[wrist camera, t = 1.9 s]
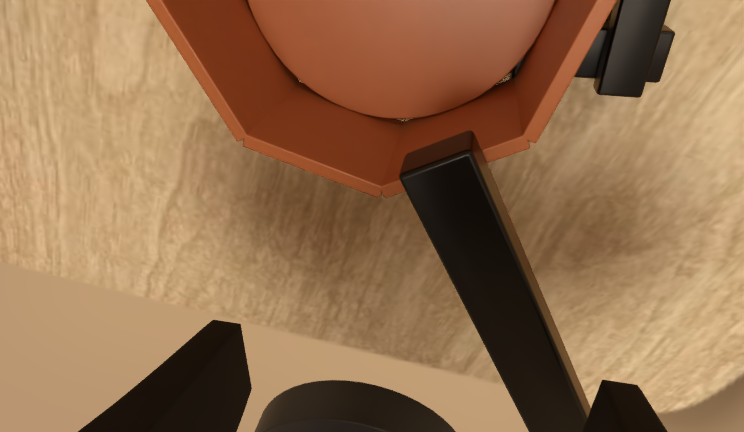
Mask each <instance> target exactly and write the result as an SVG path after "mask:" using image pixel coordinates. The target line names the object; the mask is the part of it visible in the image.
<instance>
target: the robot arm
mask: <svg viewBox="0 0 744 432" xmlns="http://www.w3.org/2000/svg"><path fill="white" fill-rule="evenodd" d="M251 389H252V388H251V382H250V376H249V370H248V365H247V359H246V353H245V347H244V342H243V336H242V330H241V325H240V324H237V323H231V322H224V321H218V320H213V321H211V322H210V323H209V324H207V325H206V326H205V327H204V328H203V329H202V330H200V331H199V332H198V333H197V334H196V335H195V336H194V337H192V338H191V339H190V340H189V341H188V342H187V343H186V344H184V345H183V346H182V347H181V348H180V349H179V350H177V351H176V352H175V353H174V354H173V355H172V356H171V357H169V358H168V359H167V360H166V361H165V362H164V363H163V364H161V365H160V366H159V367H158V368H157V369H156V370H154V371H153V372H152V373H151V374H150V375H148V376H147V377H146V378H145V379H144V380H142V381H141V382H140V383H139V384H138V385H137V386H135V387H134V388H133V389H132V390H130V391H129V392H128V393H127V394H126V395H124V396H123V397H122V398H121V399H119V400H118V401H117V402H116V403H114V404H113V405H112V406H111V407H109V408H108V409H107V410H105V411H104V412H103V413H102V414H100V415H99V416H98V417H97V418H95V419H94V420H92V421H91V422H90V423H89V424H87V425H86V426H85V427H83V428H82V429H81V430H80V431H78V432H236V431H237V429H238V426H239V423H240V421H241V418H242V415H243V412H244V410H245V407H246V404H247V401H248V398H249V395H250V392H251ZM582 432H667V430H666V429H665V427H664V426H663V424H662V422H661V421H660V419H659V418H658V416H657V415H656V413H655V411H654V410H653V408H652V407H651V405H650V403H649V402H648V400H647V399H646V397H645V396H644V394H643V392H642V391H641V390H640V388H639V387H638V386H637V385H633V384H627V383H620V382H614V381H607V380H602V382H601V385H600V387H599V390H598V392H597V395H596V397H595V400H594V403H593V405H592V408H591V410H590V413H589V416H588V418H587V421H586V423H585V426H584V429H583V431H582Z"/></svg>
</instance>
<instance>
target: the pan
mask: <svg viewBox="0 0 744 432" xmlns="http://www.w3.org/2000/svg"><path fill="white" fill-rule="evenodd" d="M146 1H147V3H148V4H149V6H150V7H151V9H152V10H153V12H154V13H155V15H156V17H157V18H158V20H159V21H160V23H161V24H162V26H163V27H164V29H165V31H166V32H167V34H168V35H169V37H170V38H171V40H172V41H173V43H174V44H175V46H176V48H177V49H178V51H179V52H180V54H181V55H182V57H183V58H184V60H185V61H186V63H187V65H188V66H189V68H190V69H191V71H192V72H193V74H194V75H195V77H196V78H197V80H198V82H199V83H200V85H201V86H202V88H203V89H204V91H205V92H206V94H207V96H208V97H209V99H210V100H211V102H212V103H213V105H214V106H215V108H216V109H217V111H218V113H219V114H220V116H221V117H222V119H223V120H224V122H225V123H226V125H227V126H228V128H229V130H230V131H231V133H232V134H233V136H234V137H235V139H236V140H237V141H241V140H243V139H244V140H243V146H244V147H247V148H249V149H252V150H254V151H257V152H260V153H262V154H265V155H267V156H270V157H273V158H275V159H278V160H281V161H283V162H286V163H288V164H291V165H294V166H296V167H299V168H301V169H304V170H307V171H309V172H312V173H315V174H317V175H320V176H322V177H325V178H328V179H330V180H333V181H335V182H338V183H341V184H343V185H346V186H349V187H351V188H354V189H356V190H359V191H362V192H364V193H367V194H369V195H372V196H375V197H377V198H379V197H380V195H381V193H383V195H384V197H385V198H387V197H390V196H393V195H396V194H399V193H402V192H405V191H406V193H407V195H408V197H409V199H410V201H411V203H412V205H413V207H414V209H415V211H416V212H417V214H418V216H419V218H420V220H421V222H422V224H423V226H424V228H425V230H426V232H427V234H428V236H429V238H430V240H431V242H432V244H433V246H434V248H435V249H436V251H437V253H438V255H439V257H440V259H441V261H442V263H443V265H444V267H445V269H446V271H447V273H448V275H449V277H450V279H451V281H452V283H453V285H454V286H455V288H456V290H457V292H458V294H459V296H460V298H461V300H462V302H463V304H464V306H465V308H466V310H467V312H468V314H469V316H470V318H471V320H472V322H473V323H474V325H475V327H476V329H477V331H478V333H479V335H480V337H481V339H482V341H483V343H484V345H485V347H486V349H487V351H488V353H489V355H490V357H491V359H492V360H493V362H494V364H495V366H496V368H497V370H498V372H499V374H500V376H501V378H502V380H503V382H504V384H505V386H506V388H507V390H508V391H509V394H510V396H511V397H512V399H513V401H514V403H515V405H516V407H517V409H518V411H519V413H520V415H521V417H522V419H523V421H524V423H525V425H526V427H527V429H528V431H529V432H582V431H583V429H584V426H585V423H586V421H587V418H588V416H589V413H590V410H591V408H590V405H589V403H588V401H587V398H586V396H585V394H584V391H583V389H582V387H581V384H580V382H579V379H578V377H577V375H576V372H575V370H574V368H573V365H572V363H571V361H570V358H569V356H568V353H567V351H566V349H565V346H564V344H563V342H562V339H561V337H560V334H559V332H558V330H557V327H556V325H555V323H554V320H553V318H552V316H551V313H550V311H549V308H548V306H547V304H546V301H545V299H544V297H543V294H542V292H541V290H540V287H539V285H538V282H537V280H536V278H535V275H534V273H533V271H532V268H531V266H530V263H529V261H528V259H527V256H526V254H525V252H524V249H523V247H522V245H521V242H520V240H519V237H518V235H517V233H516V230H515V228H514V226H513V223H512V221H511V219H510V216H509V214H508V211H507V209H506V207H505V204H504V202H503V200H502V197H501V195H500V192H499V190H498V188H497V185H496V183H495V181H494V178H493V176H492V174H491V171H490V169H489V166H488V164H487V163H488V162H491V161H494V160H497V159H500V158H503V157H506V156H509V155H511V154H514V153H517V152H520V151H523V150H526V149H529V148H530V143H529V141H530V142H533V143H536V142H537V141H538V139H539V137H540V135H541V134H542V132H543V130H544V128H545V127H546V125H547V123H548V121H549V120H550V118H551V116H552V114H553V112H554V111H555V109H556V107H557V105H558V104H559V102H560V100H561V98H562V97H563V95H564V93H565V91H566V90H567V88H568V86H569V84H570V83H571V81H572V79H573V77H574V75H575V74H576V72H577V70H578V68H579V67H580V65H581V63H582V61H583V60H584V58H585V56H586V54H587V53H588V51H589V49H590V47H591V46H592V44H593V42H594V40H595V38H596V37H597V35H598V33H599V31H600V30H601V28H602V26H603V24H604V23H605V21H606V19H607V17H608V16H609V14H610V12H611V10H612V9H613V7H614V5H615V3H616V2H617V0H146ZM524 56H525V57H524ZM523 57H524V59H523ZM522 59H523V61H522V63H521V65H520V67H519V69H518V71H517V73H516V75H515V77H514V78H512V79H510V80H507V81H505V82H502V83H500V84H497V83H498V82H499V81H501V80H502V79H503V78H504V77H505V76H507V75H508V74H509V72H510V71H511V70H512V69H513V68H514V67H515V66H516V65H517V64H518V63H519V62H520V61H521V60H522ZM298 79H299V80H300V81H302V82H303V83H301V82H299V80H298ZM496 84H497V85H496ZM406 118H413V119H411V120H408V121H406V122H402V121H400V120H397V119H406Z"/></svg>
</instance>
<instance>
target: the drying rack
mask: <svg viewBox="0 0 744 432" xmlns="http://www.w3.org/2000/svg"><path fill="white" fill-rule="evenodd" d="M670 2H671V0H617V2H616V3H615V5H614V7H613V10H612V14H611V18H610V22H605V23H604V24H603V26H602V28H601V30H600V31H599V33H598V35H597V37H596V38H595V40H594V42H593V44H592V46H591V47H590V49H589V51H588V53H587V54H586V56H585V58H584V60H583V61H582V63H581V65H580V67H579V68H578V70H577V72H576V74H575V75H574V77H581V78H595V81H594V85H593V86H594V89H595V91H596V93H597V94H599V95H609V96H623V97H636V98H638V97H641V95H642V92H643V89H644V86H645V83H646V82H654V83H656V82H659V81H660V79H661V76H662V73H663V70H664V67H665V63H666V60H667V57H668V54H669V51H670V48H671V45H672V42H673V39H674V36H675V32H674V31H673V30H671V29H670V28H669V27H667V26H666V25H663V24H664V21H665V18H666V15H667V11H668V8H669V5H670ZM524 57H525V56H524ZM524 57H523V59H524ZM523 59H522V60H521V61H520V62H519V63H518V64H517V65H516V66H515V67H514V68H513V69H512V70H511V71H510V72H509V73H510V78H509V80H510V79H512V78H514V77H515V75H516V73H517V71H518V69H519V67H520V65H521V63H522V61H523Z"/></svg>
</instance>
